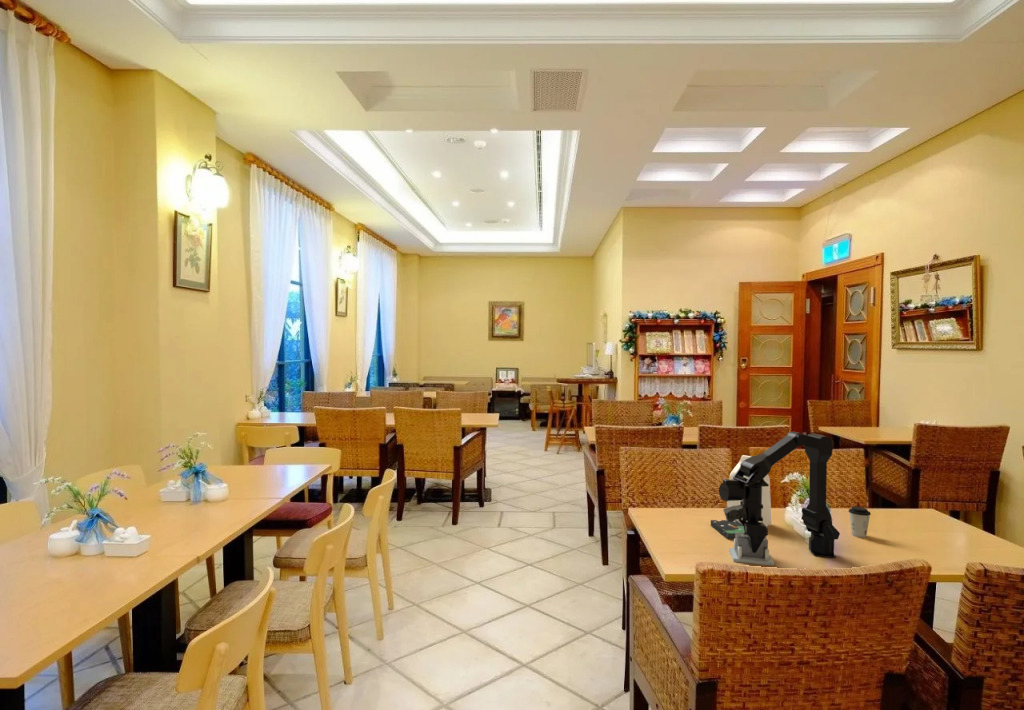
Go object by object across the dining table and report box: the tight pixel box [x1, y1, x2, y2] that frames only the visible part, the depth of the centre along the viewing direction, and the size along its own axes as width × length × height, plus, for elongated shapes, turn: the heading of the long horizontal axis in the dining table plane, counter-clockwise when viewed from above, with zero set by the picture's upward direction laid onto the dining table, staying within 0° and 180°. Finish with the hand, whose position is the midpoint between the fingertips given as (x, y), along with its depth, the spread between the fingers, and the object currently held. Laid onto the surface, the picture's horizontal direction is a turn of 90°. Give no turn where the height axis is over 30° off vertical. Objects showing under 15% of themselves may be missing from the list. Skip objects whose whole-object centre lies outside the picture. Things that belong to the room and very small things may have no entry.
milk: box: [725, 454, 772, 527], centre depth 209 cm, size 12×12×26 cm
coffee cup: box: [848, 505, 872, 538], centre depth 197 cm, size 7×7×10 cm
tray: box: [728, 539, 775, 566], centre depth 174 cm, size 12×9×4 cm
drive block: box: [735, 533, 769, 559], centre depth 174 cm, size 9×4×6 cm, turn 76°
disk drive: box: [710, 519, 745, 540], centre depth 199 cm, size 10×3×15 cm
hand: (751, 547), depth 174 cm, fingers open, 9 cm apart
